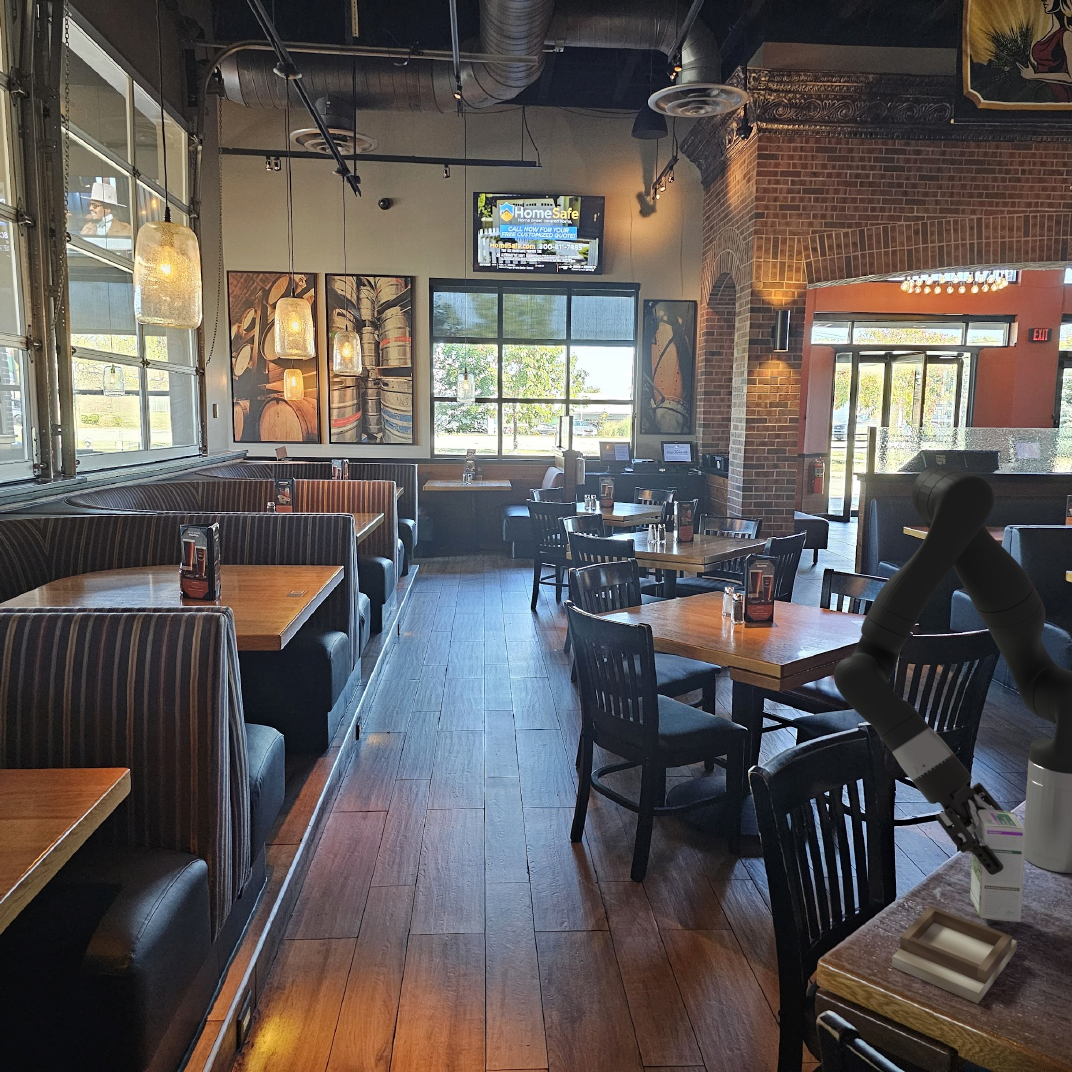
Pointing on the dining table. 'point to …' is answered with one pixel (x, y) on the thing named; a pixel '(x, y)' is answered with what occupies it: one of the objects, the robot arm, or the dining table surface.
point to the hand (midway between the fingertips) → (1007, 861)
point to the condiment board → (954, 953)
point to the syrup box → (1004, 888)
